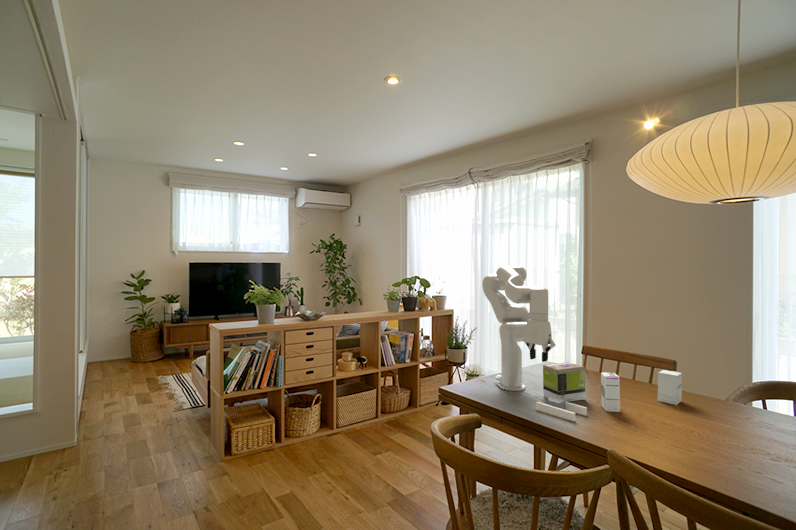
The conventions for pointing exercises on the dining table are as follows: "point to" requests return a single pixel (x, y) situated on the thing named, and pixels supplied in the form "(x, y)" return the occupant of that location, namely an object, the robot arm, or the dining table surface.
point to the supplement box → (670, 387)
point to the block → (556, 403)
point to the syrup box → (610, 392)
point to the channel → (562, 410)
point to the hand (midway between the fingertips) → (538, 359)
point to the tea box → (564, 381)
